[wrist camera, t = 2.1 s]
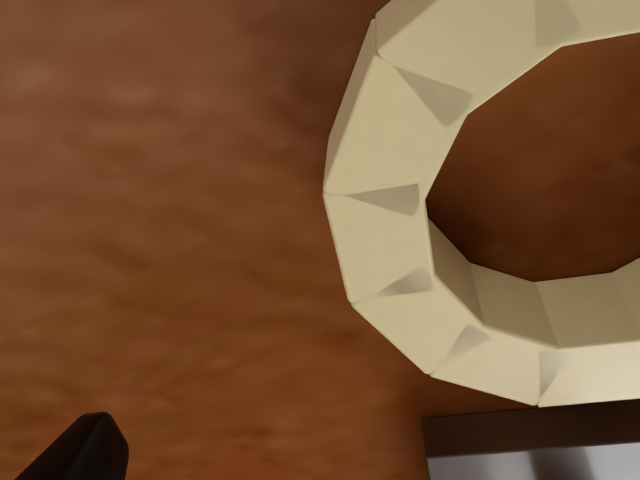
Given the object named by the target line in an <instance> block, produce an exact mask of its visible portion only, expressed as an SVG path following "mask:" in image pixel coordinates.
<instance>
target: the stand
mask: <svg viewBox="0 0 640 480" xmlns="http://www.w3.org/2000/svg"><path fill="white" fill-rule="evenodd" d="M422 424H423V435H424V445H425V456H426V462H427V468H428V473H429V478H430V480H640V399H637V400H626V401H614V402H603V403H592V404H580V405H569V406H558V407H546V408H535V409H524V410H512V411H501V412H490V413H478V414H467V415H455V416H444V417H433V418H423V419H422Z"/></svg>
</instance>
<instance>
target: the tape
mask: <svg viewBox="0 0 640 480" xmlns="http://www.w3.org/2000/svg"><path fill="white" fill-rule="evenodd" d="M638 32H640V0H391V1H390V2H389V3H387V4H386V5H385V6H384V7H383V8H382V9H381V10H379V11H378V12H377V13H376V15H375V19H372V20H371V22H370V25H369V28H368V31H367V33H366V36H365V39H364V42H363V44H362V47H361V50H360V53H359V55H358V58H357V61H356V64H355V66H354V69H353V72H352V75H351V78H350V80H349V83H348V86H347V89H346V91H345V94H344V97H343V100H342V102H341V105H340V108H339V111H338V113H337V116H336V119H335V122H334V124H333V127H332V130H331V133H330V135H329V140H328V149H327V157H326V165H325V173H324V182H323V200H324V204H325V208H326V212H327V216H328V220H329V224H330V228H331V233H332V237H333V241H334V245H335V249H336V253H337V257H338V262H339V266H340V270H341V274H342V278H343V282H344V286H345V290H346V295H347V299H348V300H349V302H351V305H352V307H353V308H354V309H355V310H356V311H357V312H359V313H360V314H361V315H362V316H363V317H364V318H365V319H366V320H367V321H368V322H369V323H371V324H372V325H373V326H374V327H375V328H376V329H377V330H378V331H379V332H380V333H381V334H383V335H384V336H385V337H386V338H387V339H388V340H389V341H390V342H391V343H392V344H393V345H395V346H396V347H397V348H398V349H399V350H400V351H401V352H402V353H403V354H404V355H405V356H407V357H408V358H409V359H410V360H411V361H412V362H413V363H414V364H415V365H416V366H417V367H419V368H420V369H421V370H422V371H423V372H424V373H425V374H429V375H430V376H431V377H433V378H436V379H440V380H444V381H447V382H451V383H454V384H458V385H461V386H465V387H468V388H472V389H476V390H479V391H483V392H486V393H490V394H493V395H497V396H501V397H504V398H508V399H511V400H515V401H518V402H522V403H526V404H529V405H533V406H534V405H538V407H548V406H560V405H571V404H582V403H594V402H605V401H616V400H628V399H639V398H640V258H638V259H636V260H634V261H632V262H631V263H629V264H627V265H625V266H623V267H621V268H619V269H617V270H616V271H614V272H612V273H604V274H596V275H588V276H580V277H572V278H563V279H555V280H547V281H539V282H531V281H528V280H525V279H521V278H518V277H515V276H512V275H508V274H505V273H502V272H499V271H495V270H492V269H489V268H486V267H482V266H479V265H476V264H473V263H469V261H468V260H467V259H466V258H465V257H464V256H463V255H462V254H461V253H460V252H459V251H458V250H457V248H456V247H455V246H454V245H453V244H452V243H451V242H450V241H449V240H448V239H447V238H446V237H445V236H444V234H443V233H442V232H441V231H440V230H439V229H438V228H437V227H436V226H435V225H434V224H433V223H432V221H431V220H430V219H429V218H428V217H427V209H426V202H425V198H426V196H427V194H428V192H429V190H430V188H431V186H432V184H433V182H434V180H435V178H436V176H437V174H438V172H439V170H440V168H441V166H442V164H443V162H444V160H445V158H446V156H447V154H448V152H449V150H450V148H451V146H452V144H453V142H454V140H455V138H456V136H457V134H458V132H459V130H460V128H461V126H462V124H463V122H464V120H465V118H466V116H467V115H468V114H469V113H470V112H472V111H473V110H475V109H476V108H477V107H479V106H480V105H481V104H483V103H484V102H486V101H487V100H488V99H490V98H491V97H492V96H494V95H495V94H496V93H498V92H499V91H501V90H502V89H503V88H505V87H506V86H507V85H509V84H510V83H512V82H513V81H514V80H516V79H517V78H518V77H520V76H521V75H523V74H524V73H525V72H527V71H528V70H529V69H531V68H532V67H534V66H535V65H536V64H538V63H539V62H540V61H542V60H543V59H545V58H546V57H547V56H549V55H550V54H551V53H553V52H554V51H556V50H557V49H558V48H560V47H562V46H567V45H573V44H578V43H584V42H589V41H595V40H600V39H605V38H611V37H616V36H622V35H627V34H633V33H638Z"/></svg>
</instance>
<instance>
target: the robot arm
mask: <svg viewBox="0 0 640 480" xmlns="http://www.w3.org/2000/svg"><path fill="white" fill-rule="evenodd" d="M128 458H129V448H128V444H127V441H126V439H125V438H124V436H123V434H122V433H121V431H120V429H119V428H118V426H117V424H116V423H115V421H114V419H113V418H112V416H111V415H110V414H108V413H107V412H97V413H87V414H84V415H82V416H80V417H79V418H78V419H77V420H76V421H75V422H74V423H73V424H72V425H71V426H70V427H69V428H68V429H67V430H65V431H64V432H63V433H62V434H61V435H60V436H59V437H58V438H57V439H56V440H55V441H54V442H53V443H52V444H51V445H50V446H49V447H48V448H47V449H46V450H45V451H44V452H43V453H42V454H40V455H39V456H38V457H37V458H36V459H35V460H34V461H33V462H32V463H31V464H30V465H29V466H28V467H27V468H26V469H25V470H24V471H23V472H22V473H21V474H20V475H19V476H18V477H17V478H15V479H14V480H125V476H126V470H127V464H128Z"/></svg>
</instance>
